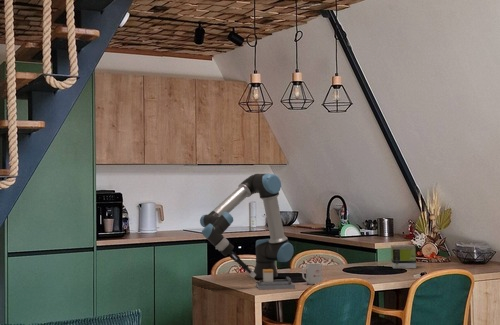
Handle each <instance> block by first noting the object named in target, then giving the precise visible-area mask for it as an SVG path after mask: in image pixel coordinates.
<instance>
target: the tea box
mask: <svg viewBox="0 0 500 325" xmlns="http://www.w3.org/2000/svg"><path fill="white" fill-rule="evenodd" d="M390 249H391V257H390V258H391V267H392V269H417V256H416V255H417V254H416V253H417V252H416V250H417V249H416V245H414V244H391V245H390Z"/></svg>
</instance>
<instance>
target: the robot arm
mask: <svg viewBox="0 0 500 325" xmlns="http://www.w3.org/2000/svg"><path fill="white" fill-rule="evenodd" d="M281 188H282V181H281V180H280V177H279V176H278V175H276V174H274V173H268V172H267V173H254V174H251V175H250V176H248V177H247V178H245V179H244V180H242V182H240V183H239V184H238V187H237V188H236V189H235V190H234V191H233V192H232V193H231V194H229V195H228V196H227V197H226V198H225V199H224V200H223V201H222V202H220V203H219V204H218V205H217V206H216V207H214V209H212V210H211V211H210V212H209V213H208V214H203V215H201V217H200V220H199V224H200V226H201V227H202V228H203V229H202V230H201V234H202V236H203V237H204V238H205V239H206V240H208V242H210V244H211V245H212V246H213V247H215V250H218V252H220V253H221V255H223V256H224V257H227V256H228V255H229V258H230V259H231V260H233V261H234V262H236V263H237V264H238V265H239V266H240V267H241V268H242V269H243V271H245V272H246V273H247V274H248V275H249V276H250V277H251V278H253V279H254V278H257V279H258V278H259V279H263V269H272V270H273V279H274V278H277V277H279V276H278V274H279V273H278V270H277V267H276V262H279V263H287V262H289V261H290V260H291V259H292V256H293V255H294V253H295V252H294V250H295V249H294V246H293V244H291V243H290V242H289V239H288V237H287V236H286V235H285V232H284V224H283V221H282V216H281V211H280V205H279V201H278V197H279V195H280V190H281ZM255 194H258V195H259V199H261V200H262V201H263V202H262V203H263V207H264V208H263V209H264V212H265V217H266V222H267V228H268V233H269V237H270V238H263V239H257V240H256V241H255V266H254V269H253V270H252V269H251V267H249V264H247V263H245V262H244V261H243V260H242V259H241V258H240V255H238V253H236V251H233V250H235V249H234V248H235V246H234V245H233V244H232V243H231V242H230V241H229V240H228V239H227V238H226V237H225V236H224V235H223V234H224V233H225V232H226V230H227V229H228V228H229V227H230V226H231V225H232V224H233V222H234V217H233V215H232V214H231V212H232V211H233V210H234V209H235V208H236V207H237V206H239V205H240V204H241V202H243V201H244V200H245V199H246V198H250V197H251V196H252V195H255Z"/></svg>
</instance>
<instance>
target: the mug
mask: <svg viewBox="0 0 500 325" xmlns="http://www.w3.org/2000/svg"><path fill="white" fill-rule="evenodd" d="M301 272H302V273H301V277H302V279H303V280H304V281H305V282H306V284H307V285H309V286H311V285H312V286H314V285H313V284H315V283H318V282H321V281H322V280H323V279H322V277H323V276H322V274H323V273H322V263H306V264H305V267H302V268H301ZM321 283H322V282H321Z"/></svg>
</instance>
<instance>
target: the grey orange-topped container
mask: <svg viewBox="0 0 500 325" xmlns="http://www.w3.org/2000/svg"><path fill="white" fill-rule="evenodd" d="M262 280H263V282H273V280H274V278H273V270H272V269H263V278H262Z"/></svg>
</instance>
